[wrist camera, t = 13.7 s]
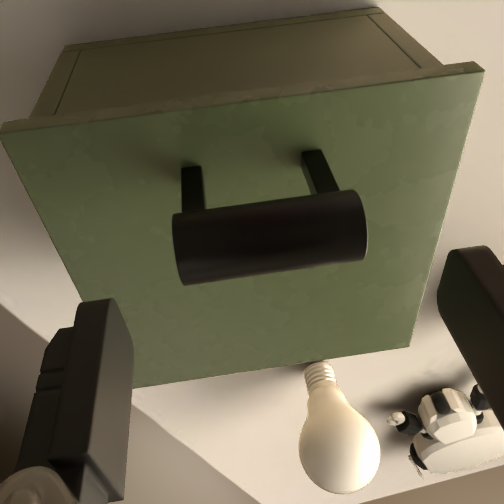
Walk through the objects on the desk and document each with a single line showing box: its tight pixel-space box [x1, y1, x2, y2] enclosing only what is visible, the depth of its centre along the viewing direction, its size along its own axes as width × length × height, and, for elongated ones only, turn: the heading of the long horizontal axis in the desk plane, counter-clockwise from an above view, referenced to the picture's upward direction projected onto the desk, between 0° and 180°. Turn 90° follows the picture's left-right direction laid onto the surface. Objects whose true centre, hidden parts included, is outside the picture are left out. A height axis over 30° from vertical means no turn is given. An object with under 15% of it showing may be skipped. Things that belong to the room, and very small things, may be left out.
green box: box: [29, 7, 443, 118], centre depth 23 cm, size 14×15×9 cm
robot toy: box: [387, 384, 504, 479], centre depth 50 cm, size 12×4×15 cm
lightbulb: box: [299, 362, 380, 494], centre depth 38 cm, size 6×6×11 cm
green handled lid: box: [0, 61, 485, 389], centre depth 17 cm, size 15×15×5 cm
